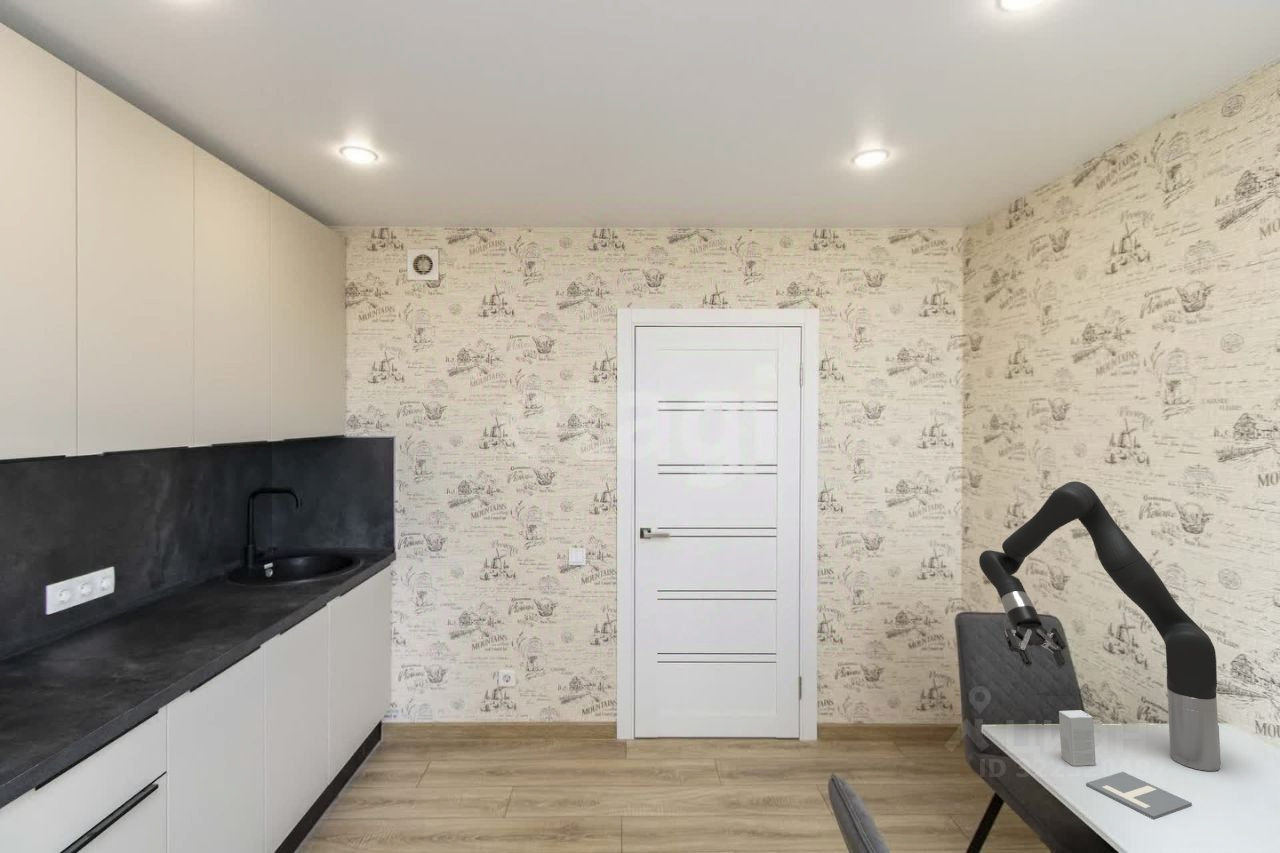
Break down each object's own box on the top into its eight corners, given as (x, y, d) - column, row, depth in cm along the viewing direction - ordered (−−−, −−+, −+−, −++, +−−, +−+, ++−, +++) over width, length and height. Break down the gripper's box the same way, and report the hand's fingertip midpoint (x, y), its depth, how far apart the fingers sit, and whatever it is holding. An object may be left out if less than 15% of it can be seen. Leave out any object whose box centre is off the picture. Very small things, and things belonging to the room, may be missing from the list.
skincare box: (1083, 756, 156) (1081, 709, 157) (1096, 765, 152) (1094, 716, 153) (1060, 757, 156) (1058, 710, 157) (1072, 766, 152) (1070, 717, 152)
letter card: (1123, 774, 148) (1122, 771, 148) (1191, 805, 135) (1191, 802, 135) (1086, 785, 144) (1085, 782, 144) (1153, 819, 130) (1153, 816, 131)
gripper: (1000, 604, 176) (1024, 659, 164) (1051, 604, 175) (1079, 659, 164) (990, 617, 181) (1013, 671, 169) (1040, 617, 180) (1066, 671, 169)
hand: (1045, 665), depth 166 cm, fingers open, 8 cm apart
